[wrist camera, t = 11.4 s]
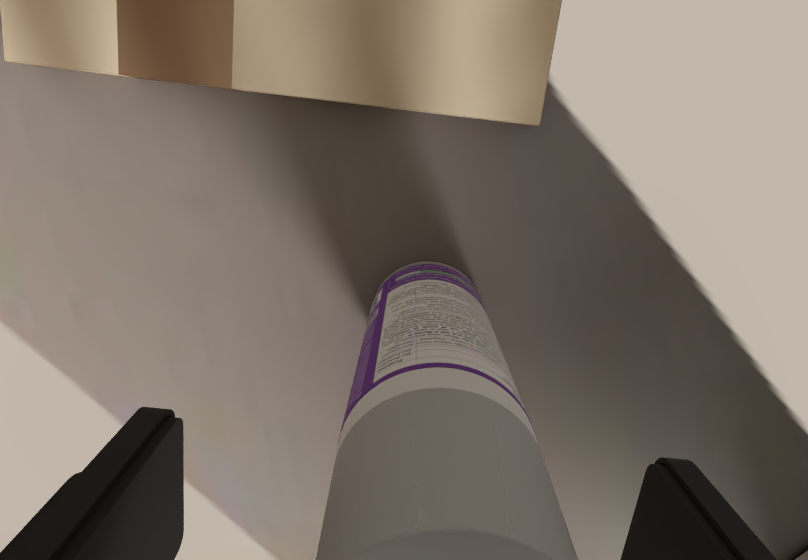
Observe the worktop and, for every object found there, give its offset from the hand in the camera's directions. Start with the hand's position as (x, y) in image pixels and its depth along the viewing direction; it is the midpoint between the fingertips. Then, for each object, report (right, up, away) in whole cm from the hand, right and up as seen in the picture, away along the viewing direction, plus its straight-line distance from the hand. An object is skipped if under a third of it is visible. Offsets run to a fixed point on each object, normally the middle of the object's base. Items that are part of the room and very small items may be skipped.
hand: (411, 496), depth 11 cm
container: (+1, +3, +12) cm, 12 cm away
